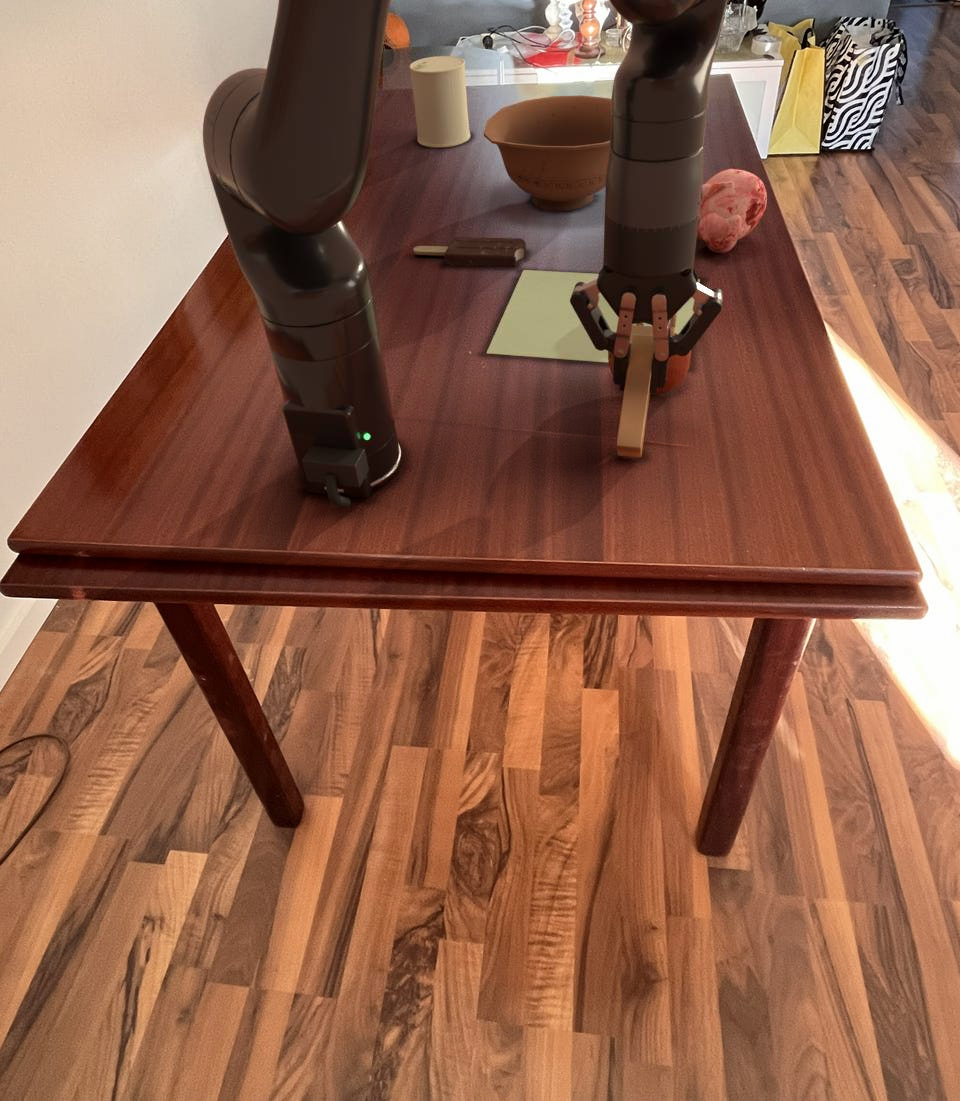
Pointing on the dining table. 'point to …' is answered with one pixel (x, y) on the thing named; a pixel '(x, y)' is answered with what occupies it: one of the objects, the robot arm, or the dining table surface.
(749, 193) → the ice cream
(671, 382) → the fruit slice
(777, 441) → the dining table surface
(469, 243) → the ice cream bar
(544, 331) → the placemat
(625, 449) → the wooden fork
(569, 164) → the bowl
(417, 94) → the can
